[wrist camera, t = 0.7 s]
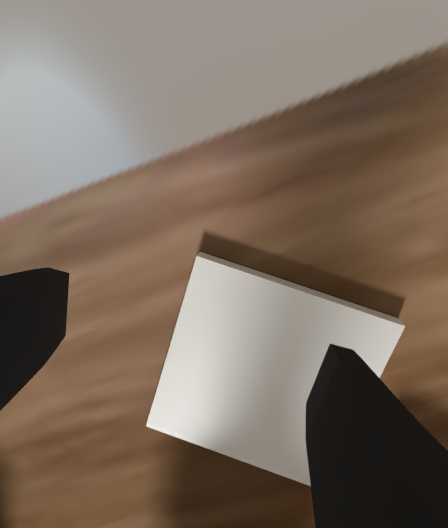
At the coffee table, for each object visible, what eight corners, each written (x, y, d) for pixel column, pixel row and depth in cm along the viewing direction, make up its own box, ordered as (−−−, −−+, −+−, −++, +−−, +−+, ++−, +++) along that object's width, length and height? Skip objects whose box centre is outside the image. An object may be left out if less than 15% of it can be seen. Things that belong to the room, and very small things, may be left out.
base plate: (321, 477, 22) (323, 490, 21) (151, 415, 22) (145, 426, 22) (398, 318, 19) (405, 326, 18) (200, 251, 19) (196, 255, 19)
